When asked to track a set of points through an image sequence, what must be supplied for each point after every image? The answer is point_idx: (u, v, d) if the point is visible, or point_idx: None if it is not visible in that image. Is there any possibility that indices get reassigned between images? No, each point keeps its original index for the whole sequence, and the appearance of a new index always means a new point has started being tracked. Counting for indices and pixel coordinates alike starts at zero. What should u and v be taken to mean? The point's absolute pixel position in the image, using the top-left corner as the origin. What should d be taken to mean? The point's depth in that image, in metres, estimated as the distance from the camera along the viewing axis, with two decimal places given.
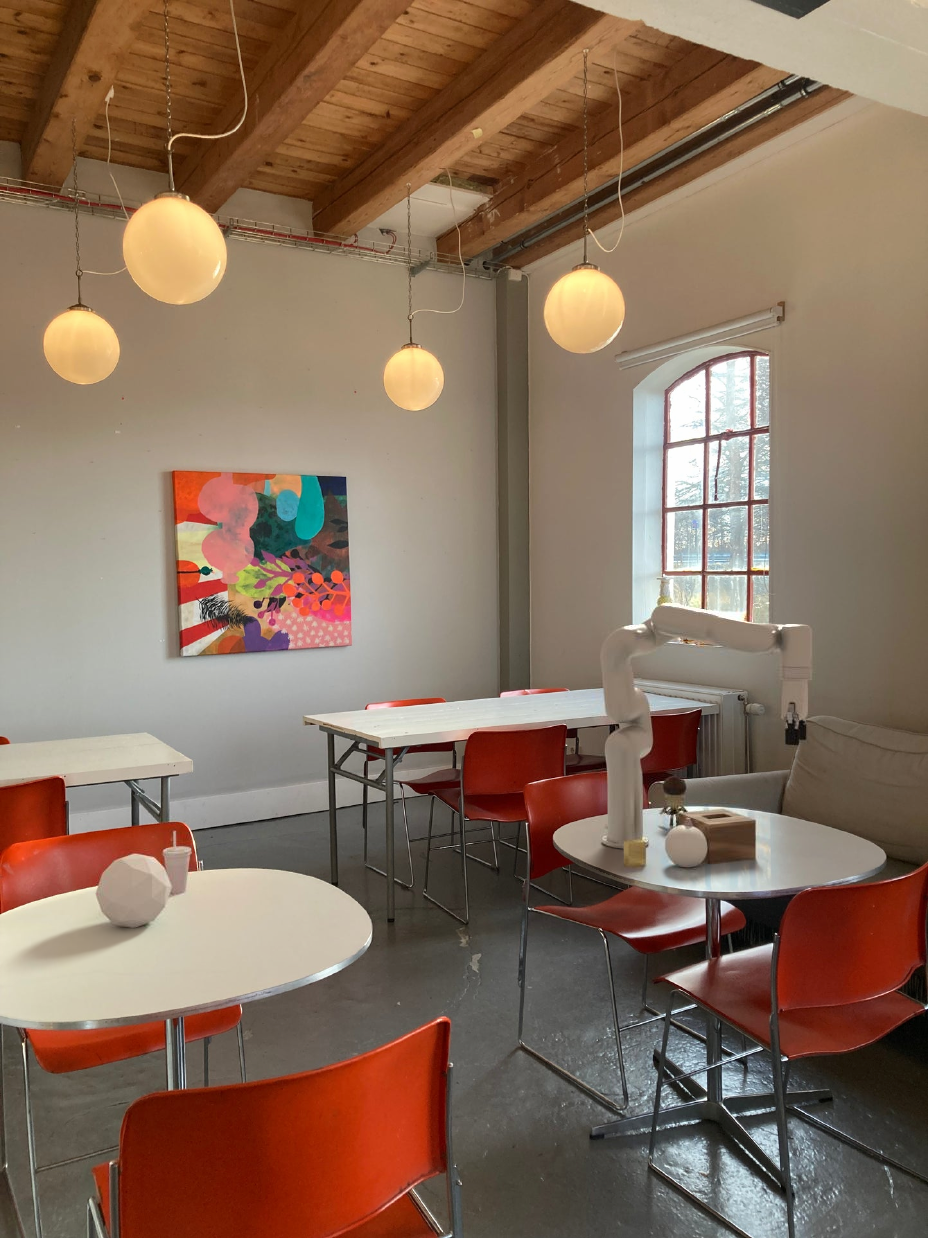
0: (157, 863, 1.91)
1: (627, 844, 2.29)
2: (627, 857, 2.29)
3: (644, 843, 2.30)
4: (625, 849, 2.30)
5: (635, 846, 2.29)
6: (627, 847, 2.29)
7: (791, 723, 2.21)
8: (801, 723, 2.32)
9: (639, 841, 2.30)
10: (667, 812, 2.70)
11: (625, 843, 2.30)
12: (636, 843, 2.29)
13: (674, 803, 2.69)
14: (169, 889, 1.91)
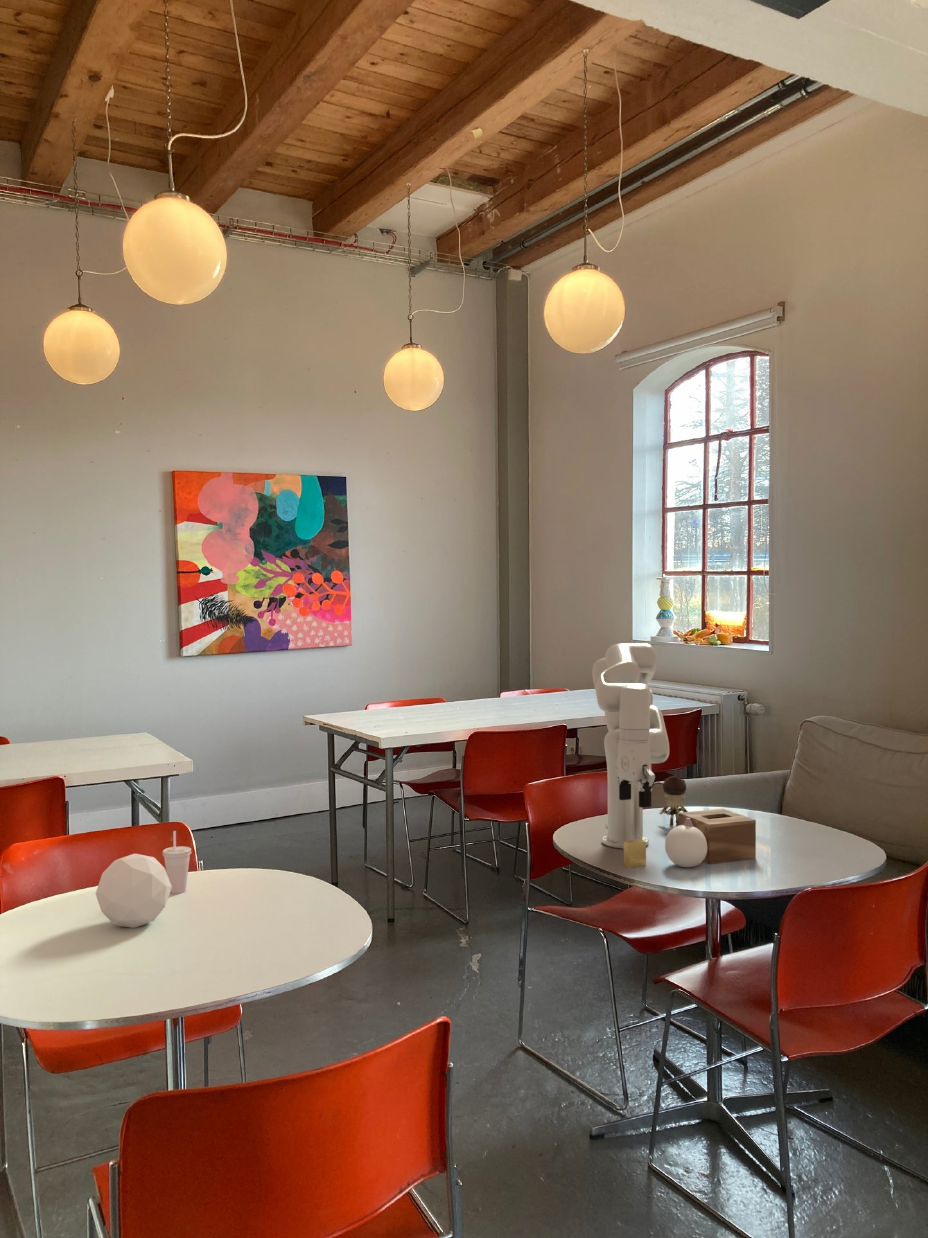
0: (157, 863, 1.91)
1: (627, 844, 2.29)
2: (627, 857, 2.29)
3: (644, 843, 2.30)
4: (625, 849, 2.30)
5: (635, 846, 2.29)
6: (627, 847, 2.29)
7: (650, 786, 2.23)
8: (627, 783, 2.35)
9: (639, 841, 2.30)
10: (667, 812, 2.70)
11: (625, 843, 2.30)
12: (636, 843, 2.29)
13: (674, 803, 2.69)
14: (169, 889, 1.91)
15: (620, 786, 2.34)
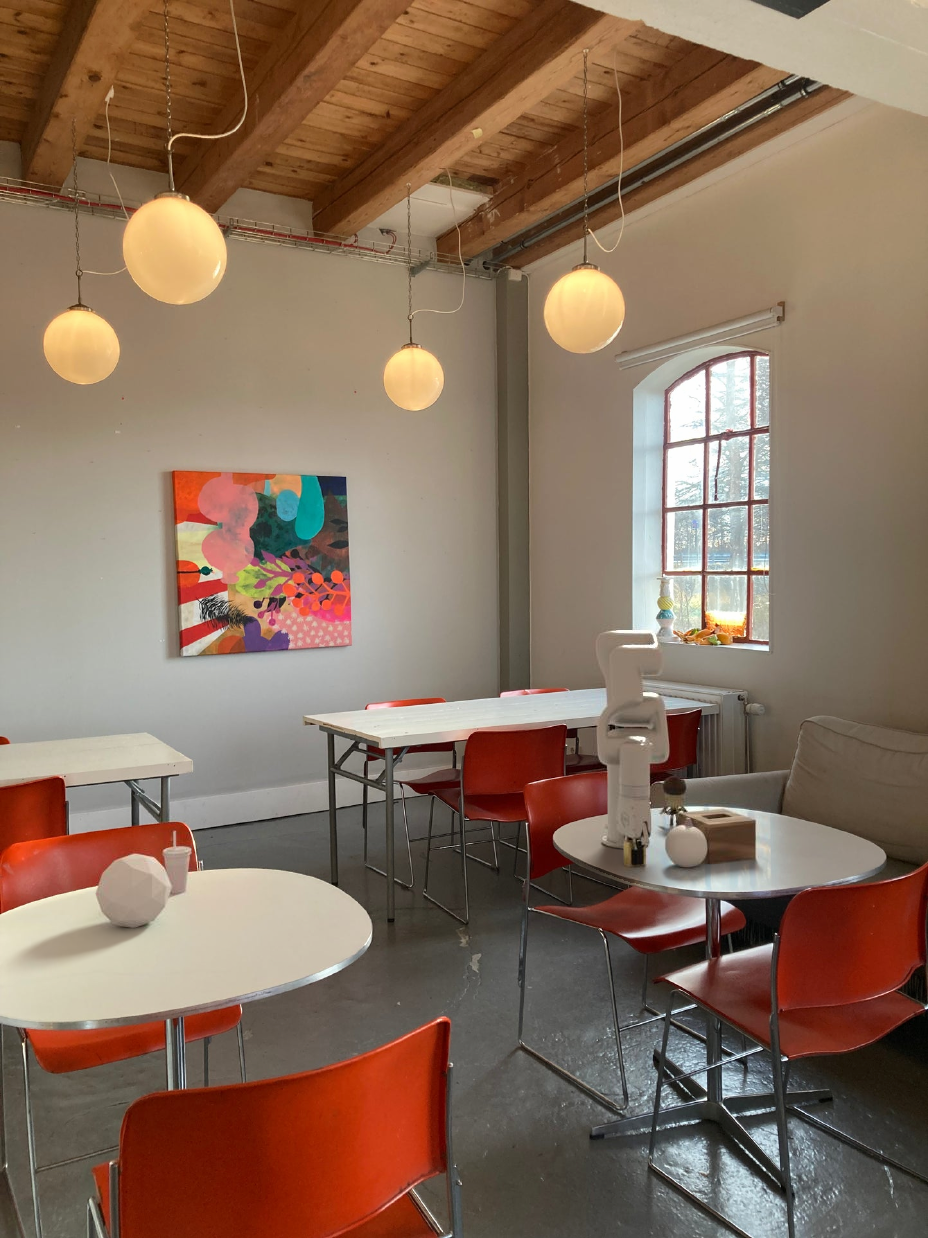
0: (157, 863, 1.91)
1: (627, 844, 2.29)
2: (627, 857, 2.29)
3: None
4: (625, 849, 2.30)
5: None
6: (627, 847, 2.29)
7: None
8: None
9: None
10: (667, 812, 2.70)
11: (625, 843, 2.30)
12: None
13: (674, 803, 2.69)
14: (169, 889, 1.91)
15: None
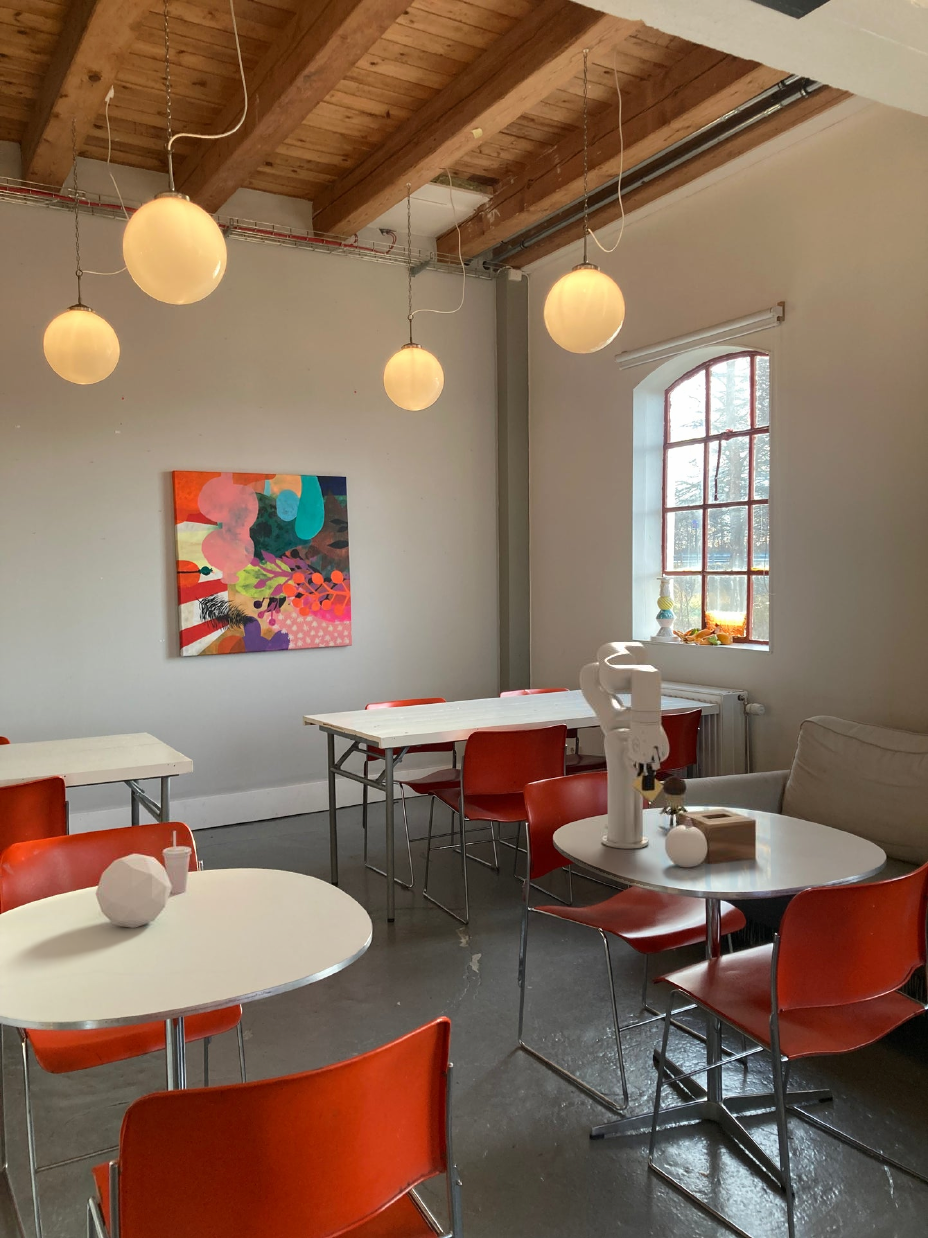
0: (157, 863, 1.91)
1: (636, 787, 2.30)
2: (644, 795, 2.31)
3: None
4: (638, 790, 2.32)
5: None
6: (637, 789, 2.31)
7: None
8: None
9: None
10: (667, 812, 2.70)
11: (634, 787, 2.31)
12: (642, 780, 2.30)
13: (674, 803, 2.69)
14: (169, 889, 1.91)
15: (638, 775, 2.32)
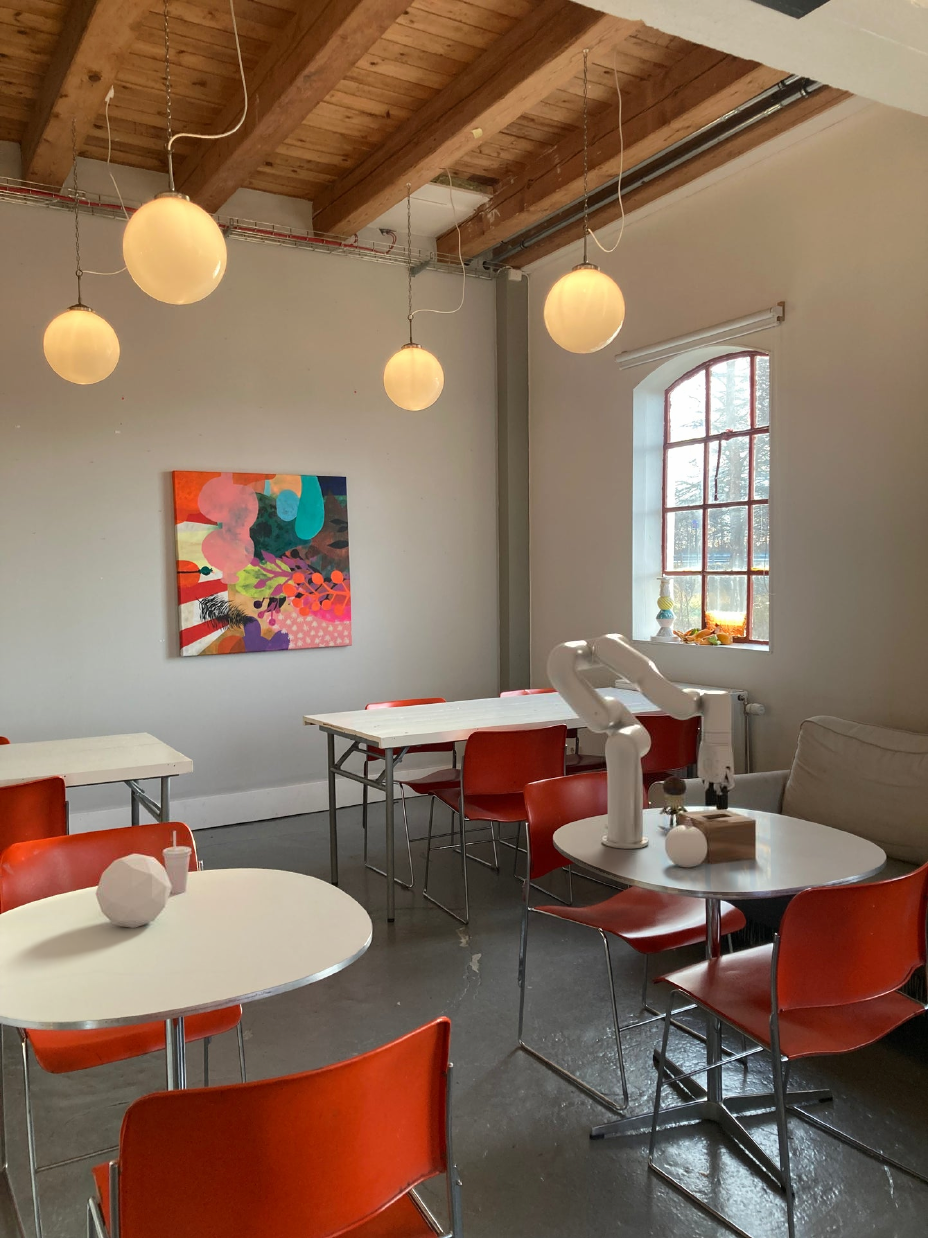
0: (157, 863, 1.91)
1: None
2: None
3: None
4: None
5: None
6: None
7: (727, 789, 2.35)
8: (713, 789, 2.42)
9: None
10: (667, 812, 2.70)
11: None
12: None
13: (674, 803, 2.69)
14: (169, 889, 1.91)
15: (706, 792, 2.41)
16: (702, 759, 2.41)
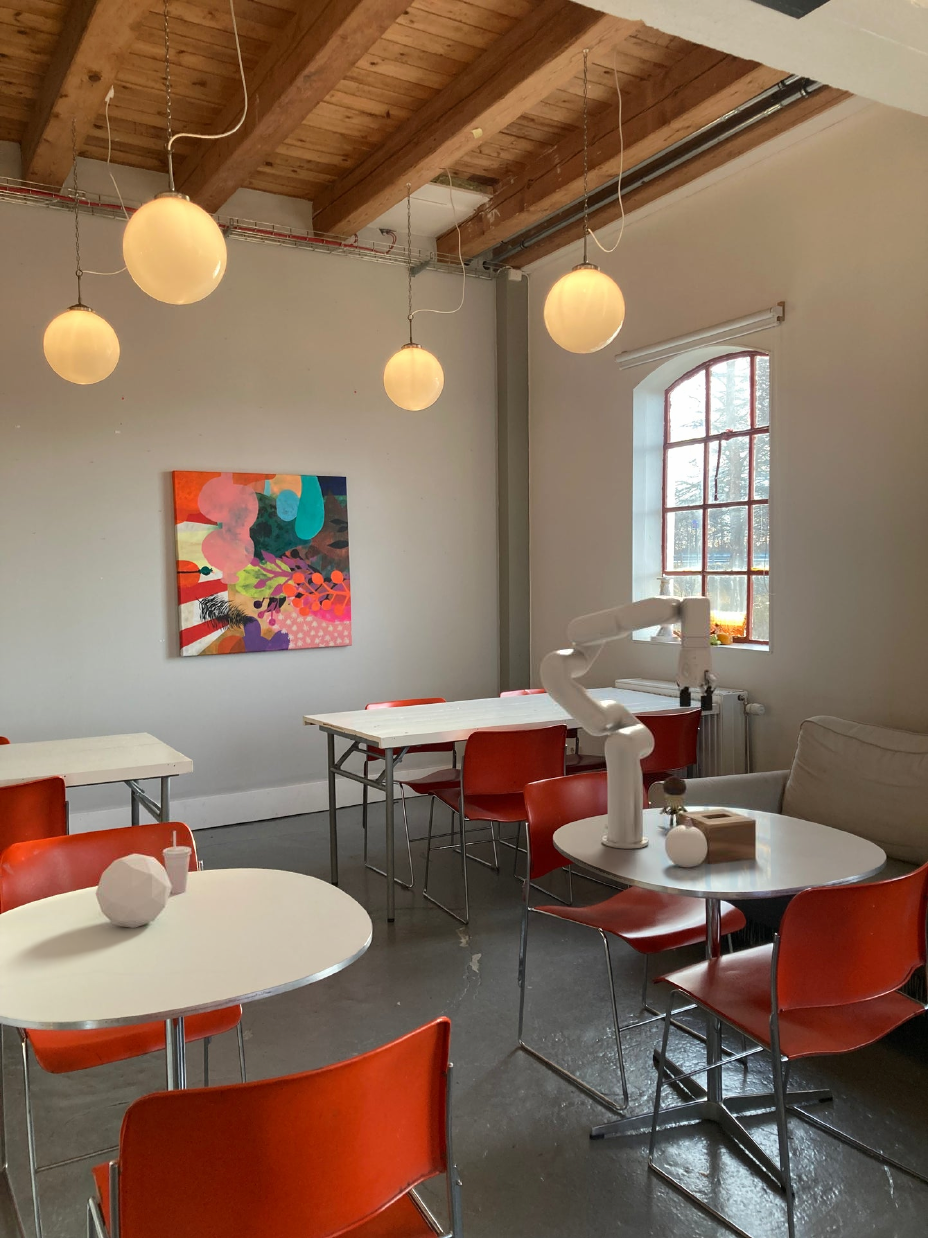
0: (157, 863, 1.91)
1: None
2: None
3: None
4: None
5: None
6: None
7: (712, 690, 2.33)
8: (687, 691, 2.44)
9: None
10: (667, 812, 2.70)
11: None
12: None
13: (674, 803, 2.69)
14: (169, 889, 1.91)
15: (680, 694, 2.43)
16: (681, 665, 2.41)
